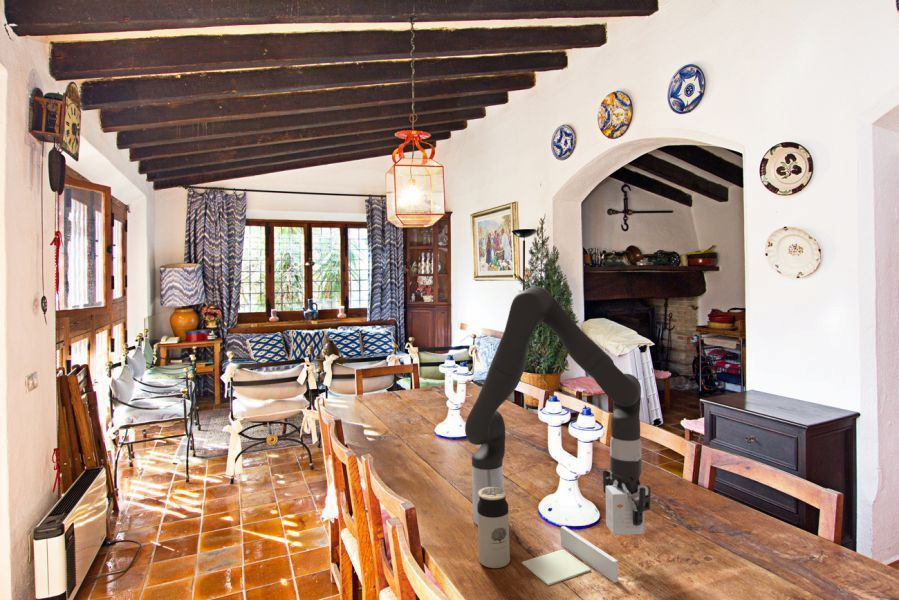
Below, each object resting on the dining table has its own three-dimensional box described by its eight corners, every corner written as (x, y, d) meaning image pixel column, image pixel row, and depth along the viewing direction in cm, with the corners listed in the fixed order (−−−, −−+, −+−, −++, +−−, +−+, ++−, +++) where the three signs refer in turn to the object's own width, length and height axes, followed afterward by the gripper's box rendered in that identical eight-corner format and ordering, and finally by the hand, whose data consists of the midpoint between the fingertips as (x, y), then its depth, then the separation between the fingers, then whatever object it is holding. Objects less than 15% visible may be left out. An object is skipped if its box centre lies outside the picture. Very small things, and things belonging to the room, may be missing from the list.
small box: (635, 523, 134) (635, 483, 133) (644, 534, 128) (644, 492, 128) (605, 524, 134) (605, 485, 133) (613, 535, 128) (612, 494, 127)
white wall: (561, 545, 140) (560, 527, 140) (564, 544, 141) (564, 526, 141) (614, 582, 122) (613, 561, 122) (618, 581, 123) (617, 560, 123)
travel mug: (477, 553, 137) (475, 487, 137) (506, 551, 138) (504, 485, 137) (481, 570, 129) (479, 499, 129) (512, 568, 130) (510, 497, 129)
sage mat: (521, 563, 132) (521, 561, 132) (562, 550, 138) (562, 549, 137) (548, 585, 122) (548, 584, 122) (591, 570, 128) (590, 569, 128)
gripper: (594, 448, 135) (594, 510, 136) (636, 466, 122) (636, 534, 123) (616, 443, 138) (616, 504, 139) (659, 460, 125) (659, 527, 126)
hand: (625, 518), depth 131 cm, fingers closed on small box, 7 cm apart
